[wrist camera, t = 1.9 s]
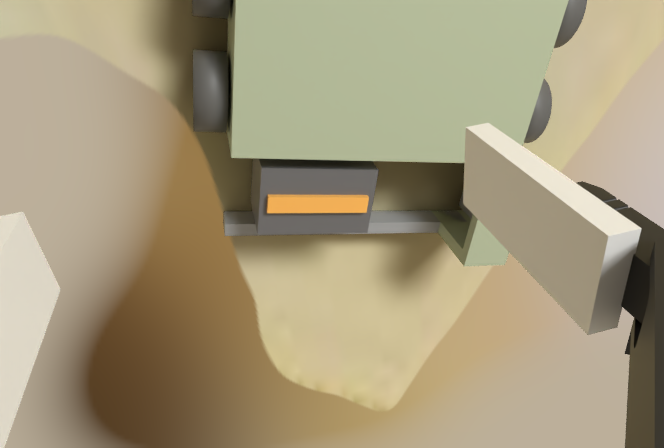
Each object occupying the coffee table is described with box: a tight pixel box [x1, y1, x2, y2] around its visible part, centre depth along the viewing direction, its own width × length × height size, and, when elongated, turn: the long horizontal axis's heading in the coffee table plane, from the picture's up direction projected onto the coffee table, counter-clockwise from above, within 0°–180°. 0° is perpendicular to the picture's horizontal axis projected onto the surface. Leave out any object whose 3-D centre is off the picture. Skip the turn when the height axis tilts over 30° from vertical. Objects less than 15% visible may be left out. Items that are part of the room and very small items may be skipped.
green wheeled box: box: [192, 0, 587, 266], centre depth 36 cm, size 24×20×7 cm
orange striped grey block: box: [251, 158, 379, 235], centre depth 38 cm, size 8×5×5 cm, turn 83°
